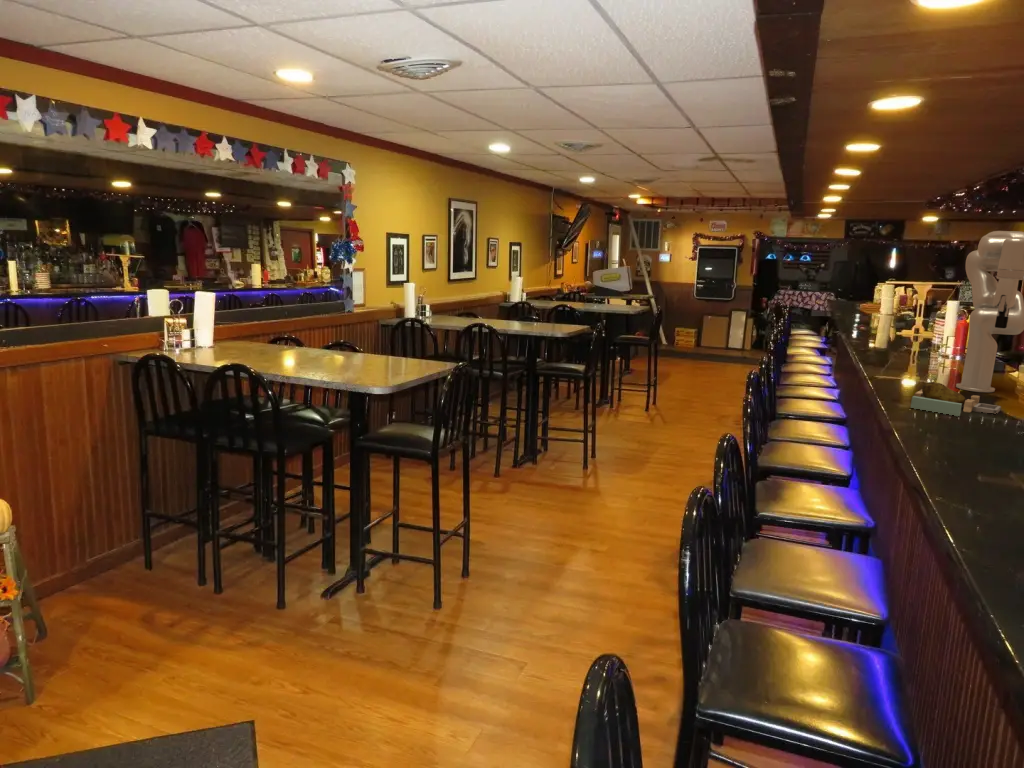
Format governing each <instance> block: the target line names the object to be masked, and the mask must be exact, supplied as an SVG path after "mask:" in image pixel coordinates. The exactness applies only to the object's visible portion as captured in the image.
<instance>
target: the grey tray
mask: <svg viewBox="0 0 1024 768" xmlns="http://www.w3.org/2000/svg"><path fill="white" fill-rule="evenodd" d="M1001 409H1002V406H1001V405H994V404H989V403H982V402H979V403H978V404H977V405H975V406H974V407H973V411H972V412H975V413H981V412H983V413H982V414H987V413H994V414H996V413H997V414H999V412H1000V411H1001ZM997 414H996V415H997Z"/></svg>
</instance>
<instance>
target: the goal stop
mask: <svg viewBox="0 0 1024 768" xmlns="http://www.w3.org/2000/svg"><path fill="white" fill-rule="evenodd" d="M910 401H911V402H910V408H914V409H913V410H916V409H920V410H919V411H922V410H926V411H925V412H928V411H932V412H931V413H934V412H938V413H937V414H940V413H943V414H942V415H946V414H949V415H948V416H952V415H954V416H953V417H958V416H959V417H960V416H961V412H962V407H963V406H962V404H961V403H955V402H948V401H942V400H936V399H929V398H923V397H916V396H914V395H912V397H911V400H910Z"/></svg>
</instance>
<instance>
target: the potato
mask: <svg viewBox="0 0 1024 768" xmlns="http://www.w3.org/2000/svg"><path fill="white" fill-rule="evenodd" d="M921 390H922V392H923V396H924V397H925V398H929V399H936V400H942V401H948V402H955V403H961V404H962V406H961V407H964V404H965V401H966V400H967V399H966V397H965V396H964V395H962V393H960V392H957V391H955V390H953V389H951V388H949V387H948V386H946V385H945V384H943V383H940V382H935V381H930V382H927V383H925V384H924V385H922V387H921Z"/></svg>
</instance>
